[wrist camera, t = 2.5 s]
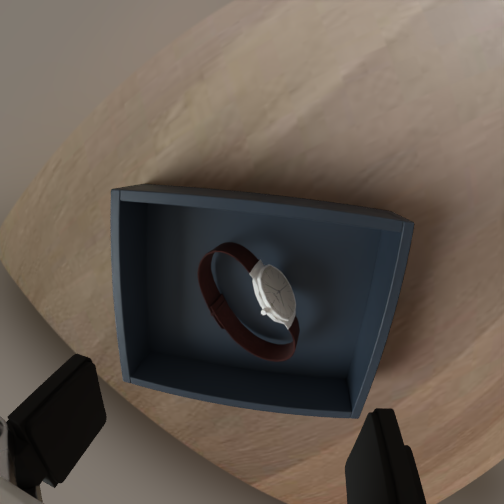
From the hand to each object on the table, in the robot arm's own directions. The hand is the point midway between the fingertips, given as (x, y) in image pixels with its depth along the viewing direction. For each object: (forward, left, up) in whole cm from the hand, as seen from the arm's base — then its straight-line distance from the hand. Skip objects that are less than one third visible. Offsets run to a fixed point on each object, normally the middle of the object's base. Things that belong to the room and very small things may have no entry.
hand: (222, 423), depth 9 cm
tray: (0, 0, -11) cm, 11 cm away
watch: (0, 0, -11) cm, 11 cm away
